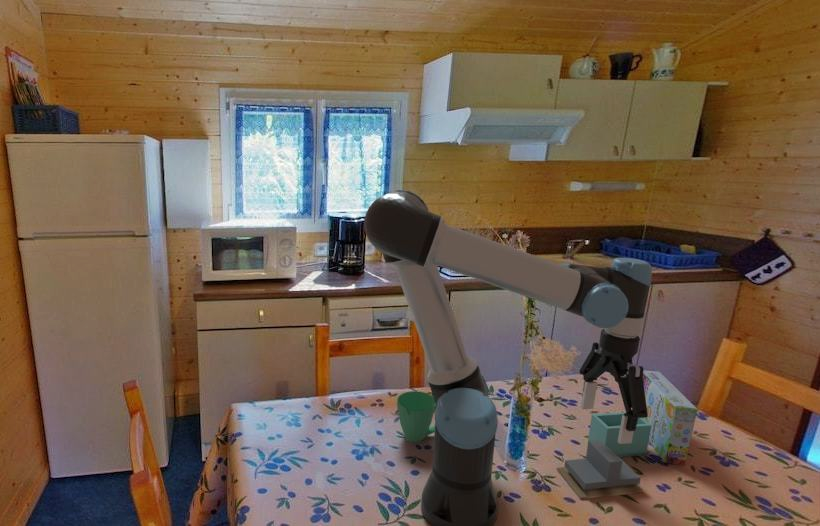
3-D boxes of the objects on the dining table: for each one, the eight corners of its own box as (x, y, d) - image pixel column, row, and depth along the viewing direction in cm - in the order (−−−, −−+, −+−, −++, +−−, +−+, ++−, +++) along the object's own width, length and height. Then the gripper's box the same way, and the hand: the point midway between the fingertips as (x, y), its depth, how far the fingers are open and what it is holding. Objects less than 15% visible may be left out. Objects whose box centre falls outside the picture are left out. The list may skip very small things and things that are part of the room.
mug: (398, 449, 113) (400, 411, 110) (392, 427, 122) (394, 391, 120) (457, 445, 115) (460, 408, 113) (446, 423, 125) (449, 389, 123)
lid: (583, 493, 100) (587, 464, 98) (563, 470, 107) (567, 442, 106) (638, 487, 103) (643, 459, 101) (615, 464, 110) (620, 438, 109)
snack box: (688, 466, 112) (699, 408, 109) (663, 464, 112) (674, 406, 109) (651, 419, 133) (660, 370, 129) (631, 417, 133) (639, 368, 130)
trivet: (580, 499, 99) (580, 497, 98) (556, 469, 108) (556, 467, 108) (642, 492, 102) (643, 490, 102) (614, 463, 111) (614, 462, 111)
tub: (602, 458, 113) (607, 428, 111) (587, 443, 119) (591, 414, 118) (646, 454, 116) (651, 425, 114) (629, 439, 122) (633, 411, 120)
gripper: (681, 356, 87) (660, 458, 91) (601, 313, 110) (587, 395, 115) (645, 357, 85) (626, 460, 89) (572, 313, 109) (559, 396, 113)
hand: (604, 424), depth 102 cm, fingers open, 13 cm apart
